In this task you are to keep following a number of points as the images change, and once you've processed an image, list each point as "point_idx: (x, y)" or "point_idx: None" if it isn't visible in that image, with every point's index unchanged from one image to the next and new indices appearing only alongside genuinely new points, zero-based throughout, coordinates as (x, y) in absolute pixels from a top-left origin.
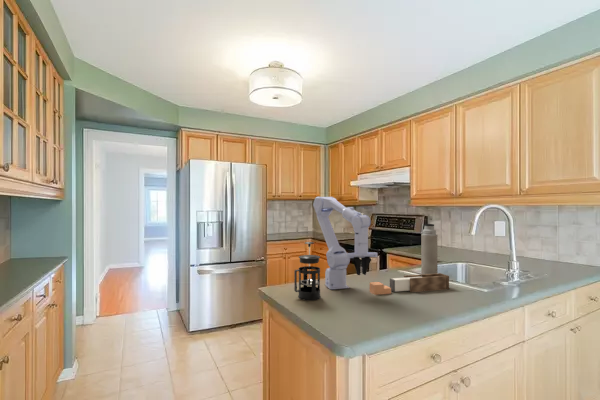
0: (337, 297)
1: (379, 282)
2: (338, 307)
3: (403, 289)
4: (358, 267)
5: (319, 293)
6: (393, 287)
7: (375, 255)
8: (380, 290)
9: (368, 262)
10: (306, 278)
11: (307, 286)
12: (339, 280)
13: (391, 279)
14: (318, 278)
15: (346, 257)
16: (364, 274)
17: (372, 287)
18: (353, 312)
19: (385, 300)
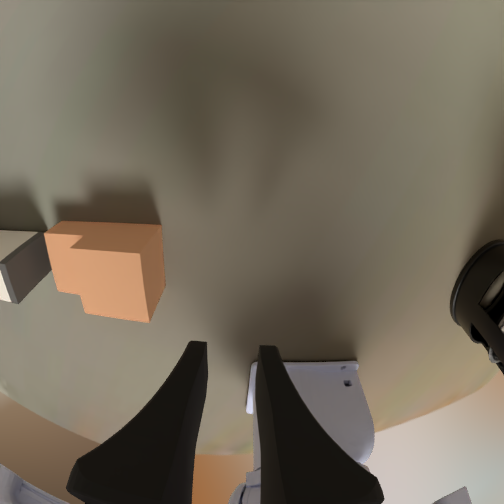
0: (407, 246)
1: (83, 301)
2: (474, 104)
3: (2, 233)
4: (301, 411)
5: (486, 269)
6: (31, 242)
7: (6, 490)
8: (110, 232)
9: (128, 452)
10: (501, 365)
11: (481, 341)
12: (314, 399)
13: (11, 284)
14: (500, 345)
15: (468, 497)
16: (206, 344)
17: (150, 269)
18: (440, 14)
19: (150, 94)
